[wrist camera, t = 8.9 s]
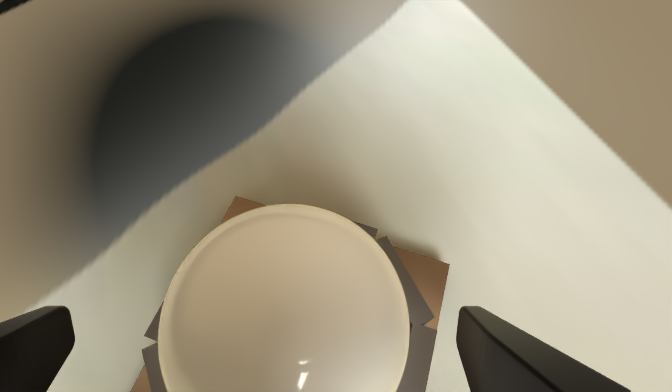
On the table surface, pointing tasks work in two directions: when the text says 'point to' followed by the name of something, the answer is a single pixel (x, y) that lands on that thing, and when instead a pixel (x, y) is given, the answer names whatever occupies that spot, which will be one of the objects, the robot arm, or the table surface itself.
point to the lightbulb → (285, 308)
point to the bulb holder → (421, 294)
